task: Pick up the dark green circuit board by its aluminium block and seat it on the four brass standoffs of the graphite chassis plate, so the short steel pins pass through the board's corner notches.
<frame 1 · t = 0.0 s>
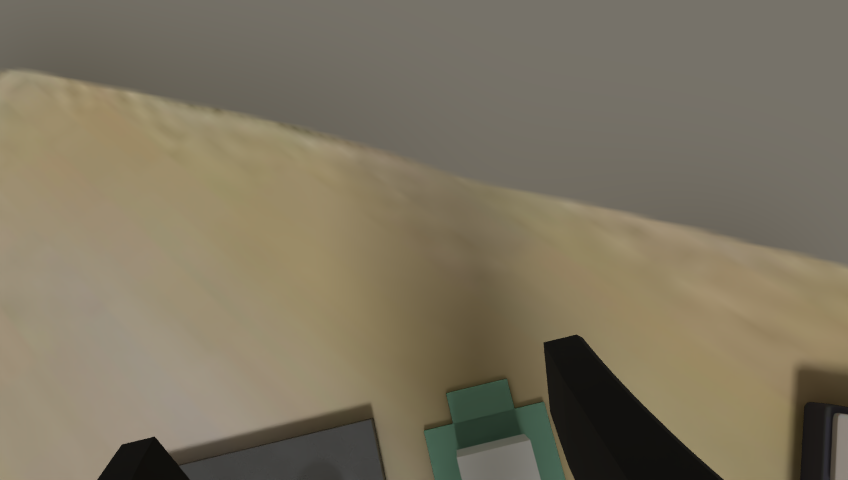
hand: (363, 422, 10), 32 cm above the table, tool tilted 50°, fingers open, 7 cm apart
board: (494, 461, 41), on the table
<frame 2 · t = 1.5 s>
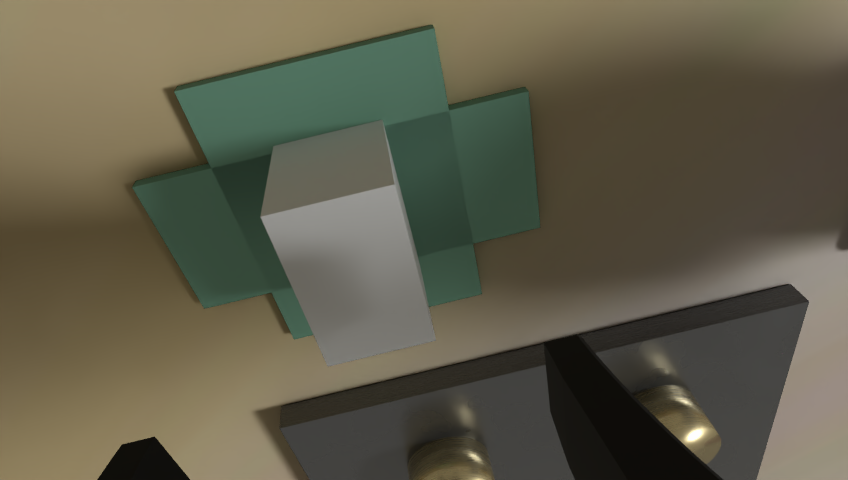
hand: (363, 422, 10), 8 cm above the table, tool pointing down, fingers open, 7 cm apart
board: (351, 195, 17), on the table
chassis: (548, 461, 26), on the table
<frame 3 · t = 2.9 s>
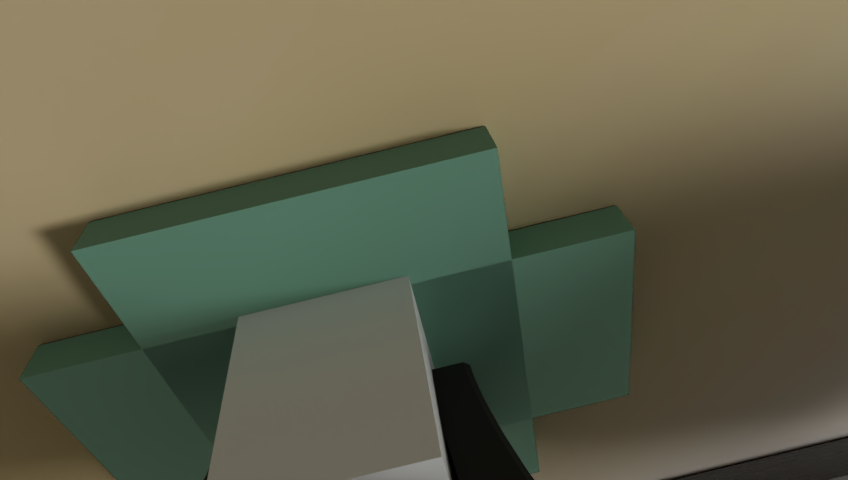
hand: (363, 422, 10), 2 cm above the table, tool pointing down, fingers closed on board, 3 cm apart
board: (359, 357, 12), on the table, touching gripper
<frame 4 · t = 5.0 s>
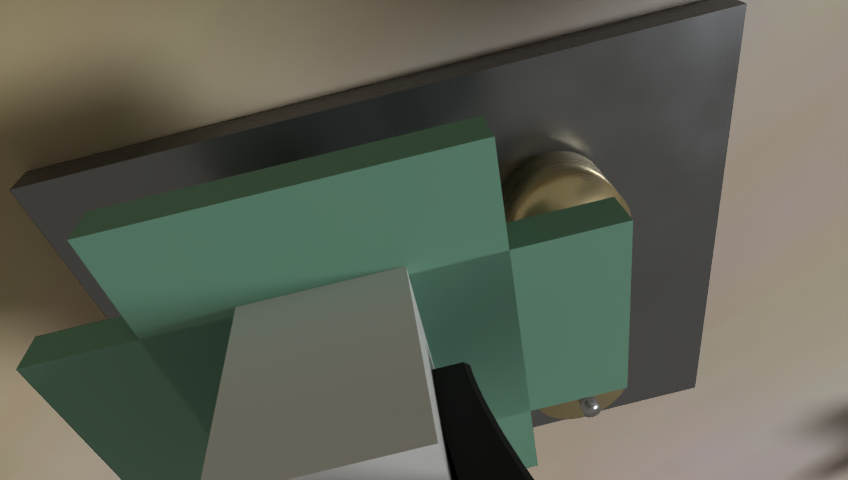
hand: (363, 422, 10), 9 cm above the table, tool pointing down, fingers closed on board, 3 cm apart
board: (357, 350, 12), point 7 cm above the table, touching gripper
chassis: (429, 293, 20), on the table
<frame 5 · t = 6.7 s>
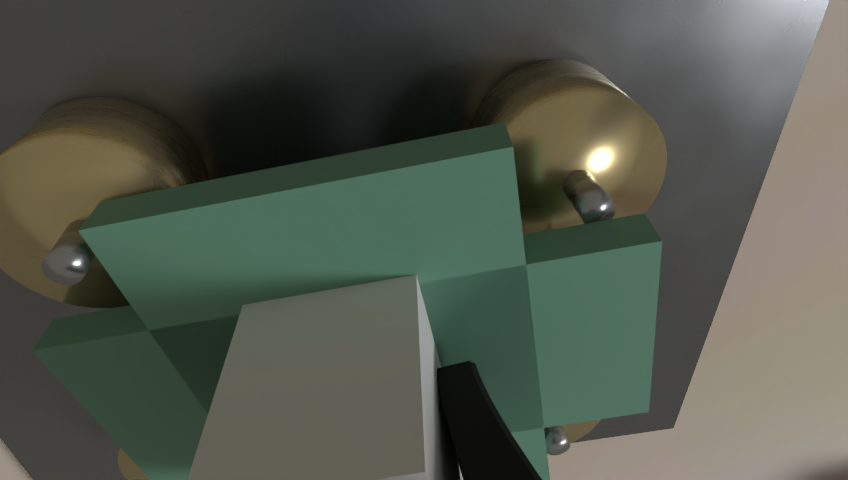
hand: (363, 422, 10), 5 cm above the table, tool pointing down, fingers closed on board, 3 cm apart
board: (367, 352, 11), point 4 cm above the table, tilted 6°, touching chassis, gripper
chassis: (355, 258, 14), on the table
when the fingers open (5 cm above the table, at t = 7.5 s): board stays where it is, resting on chassis.
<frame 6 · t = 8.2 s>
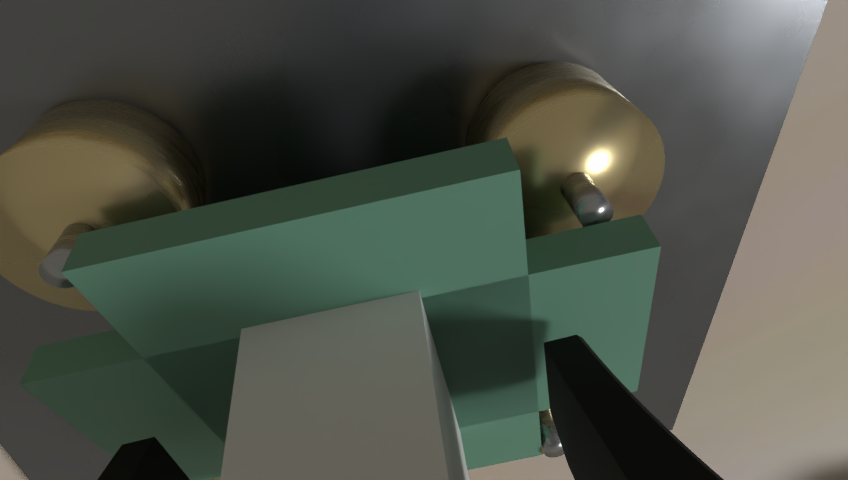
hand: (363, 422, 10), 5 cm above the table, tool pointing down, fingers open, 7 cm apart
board: (365, 354, 11), point 4 cm above the table, tilted 8°, touching chassis
chassis: (353, 260, 14), on the table
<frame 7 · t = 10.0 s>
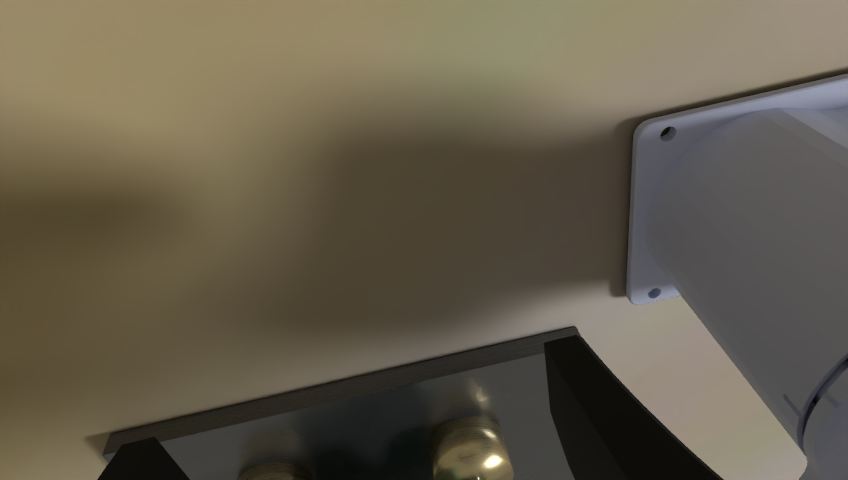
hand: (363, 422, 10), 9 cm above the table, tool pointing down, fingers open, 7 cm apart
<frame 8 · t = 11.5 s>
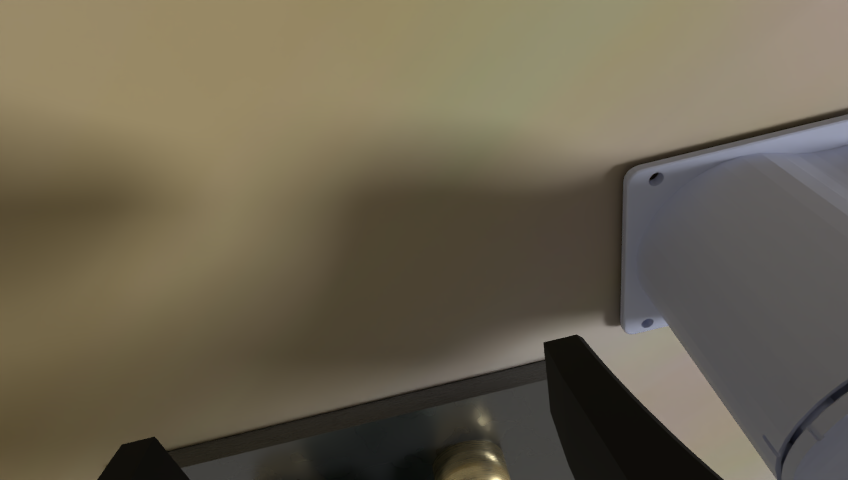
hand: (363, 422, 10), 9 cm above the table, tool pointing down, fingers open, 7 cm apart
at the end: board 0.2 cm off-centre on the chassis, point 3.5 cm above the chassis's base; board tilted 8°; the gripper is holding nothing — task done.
